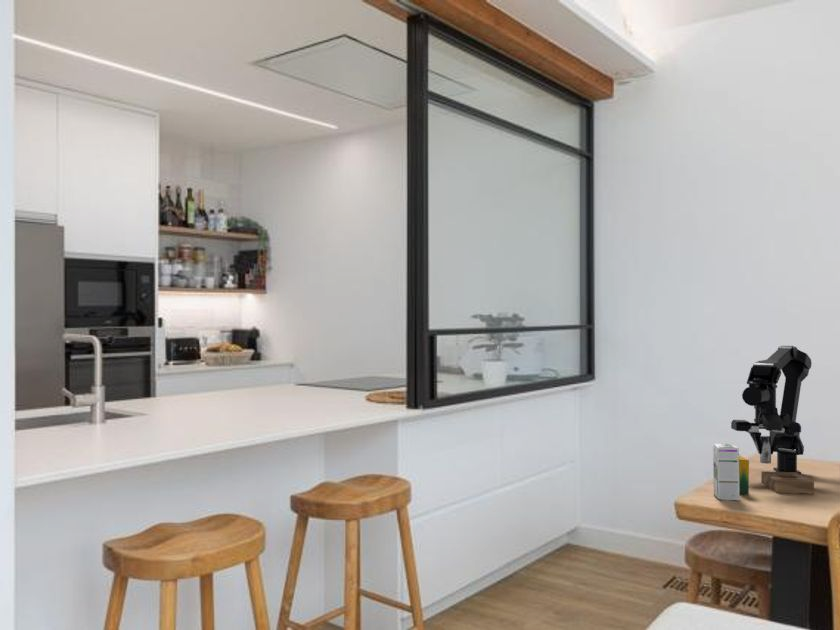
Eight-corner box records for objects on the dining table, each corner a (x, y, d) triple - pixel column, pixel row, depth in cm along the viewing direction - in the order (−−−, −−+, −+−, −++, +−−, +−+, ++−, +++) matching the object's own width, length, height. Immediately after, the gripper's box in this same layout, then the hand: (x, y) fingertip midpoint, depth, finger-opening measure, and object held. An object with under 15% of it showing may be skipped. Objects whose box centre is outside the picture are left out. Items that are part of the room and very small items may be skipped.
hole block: (761, 483, 210) (761, 471, 210) (796, 484, 208) (796, 472, 208) (776, 492, 198) (776, 480, 198) (813, 494, 196) (813, 481, 196)
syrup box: (740, 501, 188) (740, 447, 189) (717, 499, 190) (717, 446, 190) (735, 495, 194) (735, 443, 194) (712, 494, 195) (712, 443, 195)
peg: (758, 461, 216) (758, 435, 216) (768, 461, 215) (768, 435, 215) (762, 463, 213) (762, 437, 213) (772, 463, 212) (772, 437, 213)
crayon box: (749, 495, 195) (749, 453, 195) (738, 494, 196) (738, 453, 196) (740, 488, 202) (740, 448, 203) (729, 488, 203) (729, 448, 203)
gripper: (742, 405, 208) (742, 458, 207) (808, 407, 205) (808, 460, 205) (730, 401, 219) (730, 451, 218) (793, 402, 216) (793, 453, 216)
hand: (765, 454), depth 214 cm, fingers closed on peg, 3 cm apart
